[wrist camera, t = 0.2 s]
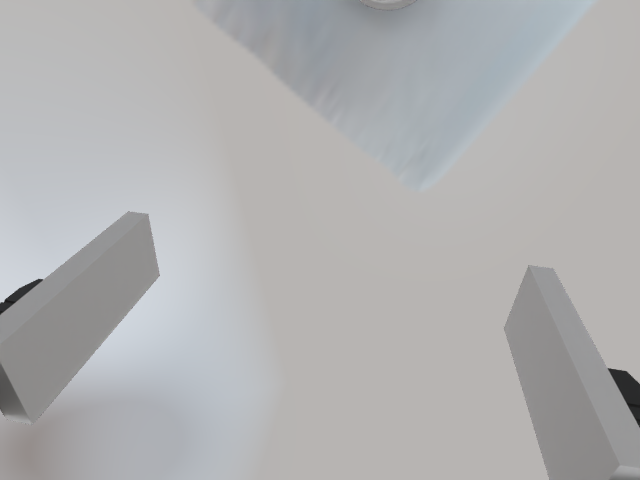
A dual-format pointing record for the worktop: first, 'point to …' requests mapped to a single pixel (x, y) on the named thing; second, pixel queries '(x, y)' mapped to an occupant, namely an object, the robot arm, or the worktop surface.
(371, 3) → the beverage can
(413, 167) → the worktop surface
